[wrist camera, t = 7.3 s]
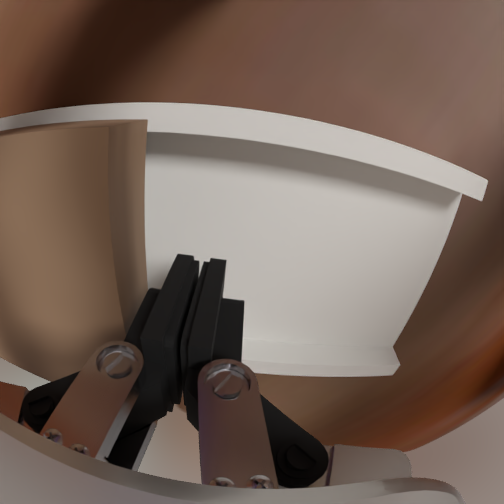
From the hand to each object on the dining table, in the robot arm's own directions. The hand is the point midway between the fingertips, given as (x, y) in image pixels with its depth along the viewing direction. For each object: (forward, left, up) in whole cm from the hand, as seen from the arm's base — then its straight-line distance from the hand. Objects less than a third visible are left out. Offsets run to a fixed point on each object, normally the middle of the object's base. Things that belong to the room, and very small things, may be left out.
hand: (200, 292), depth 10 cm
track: (+3, 0, -4) cm, 5 cm away
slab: (+8, 0, -3) cm, 8 cm away
